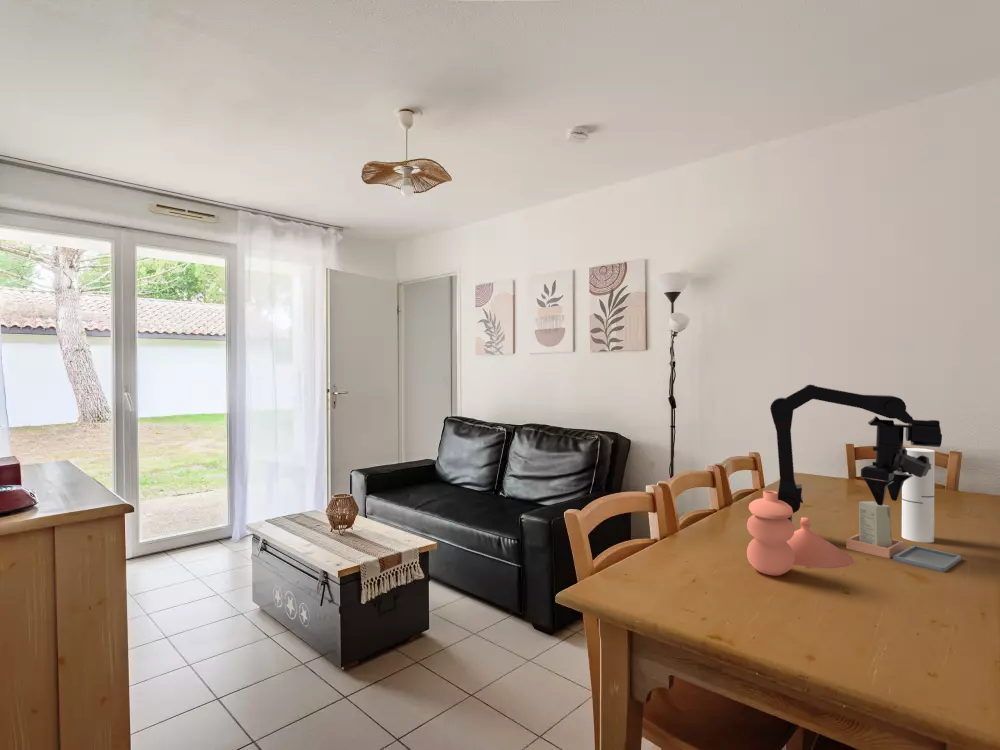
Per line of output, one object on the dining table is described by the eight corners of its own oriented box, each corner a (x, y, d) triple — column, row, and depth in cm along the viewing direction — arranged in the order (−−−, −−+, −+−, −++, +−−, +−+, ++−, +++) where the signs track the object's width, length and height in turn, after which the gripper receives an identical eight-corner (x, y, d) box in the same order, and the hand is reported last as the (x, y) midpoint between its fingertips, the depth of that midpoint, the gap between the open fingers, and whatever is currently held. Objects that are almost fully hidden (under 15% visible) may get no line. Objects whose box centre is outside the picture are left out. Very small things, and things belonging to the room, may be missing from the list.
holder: (889, 559, 134) (889, 549, 134) (846, 548, 142) (846, 539, 142) (903, 551, 139) (903, 541, 139) (861, 541, 147) (861, 532, 147)
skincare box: (892, 554, 137) (893, 506, 137) (876, 554, 137) (877, 507, 137) (872, 545, 144) (873, 500, 144) (857, 546, 143) (858, 500, 143)
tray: (943, 573, 124) (943, 568, 124) (893, 561, 132) (893, 556, 132) (962, 561, 132) (962, 555, 132) (913, 549, 140) (913, 545, 140)
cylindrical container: (939, 543, 145) (940, 452, 145) (910, 542, 147) (910, 451, 146) (924, 535, 152) (925, 448, 152) (896, 534, 154) (897, 447, 153)
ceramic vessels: (781, 535, 153) (781, 469, 152) (866, 555, 136) (867, 482, 136) (716, 563, 131) (717, 487, 130) (809, 592, 114) (810, 504, 114)
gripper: (913, 451, 128) (910, 515, 128) (940, 445, 139) (937, 505, 139) (860, 444, 137) (858, 505, 137) (890, 439, 148) (887, 495, 148)
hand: (887, 502), depth 140 cm, fingers open, 9 cm apart
